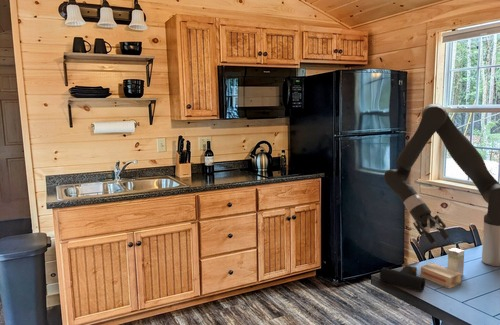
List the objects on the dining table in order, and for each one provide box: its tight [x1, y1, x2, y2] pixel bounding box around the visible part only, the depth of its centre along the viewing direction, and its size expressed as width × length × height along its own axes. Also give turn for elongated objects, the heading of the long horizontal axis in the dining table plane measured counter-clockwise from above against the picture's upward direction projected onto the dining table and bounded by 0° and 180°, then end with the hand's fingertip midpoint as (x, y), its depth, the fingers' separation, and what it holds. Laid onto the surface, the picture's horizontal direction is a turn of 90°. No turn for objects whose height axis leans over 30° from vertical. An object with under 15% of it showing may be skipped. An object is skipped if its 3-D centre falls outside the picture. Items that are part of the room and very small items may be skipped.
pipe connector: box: [379, 264, 426, 293], centre depth 144 cm, size 12×5×15 cm
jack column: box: [447, 247, 465, 277], centre depth 149 cm, size 4×4×10 cm
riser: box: [420, 262, 462, 289], centre depth 145 cm, size 7×12×4 cm, turn 29°
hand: (440, 240), depth 154 cm, fingers open, 8 cm apart
